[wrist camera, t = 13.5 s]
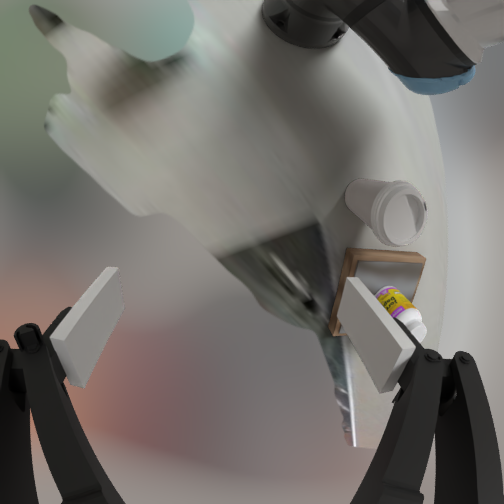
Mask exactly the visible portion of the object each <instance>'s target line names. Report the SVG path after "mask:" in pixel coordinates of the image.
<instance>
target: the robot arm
mask: <svg viewBox="0 0 504 504" xmlns="http://www.w3.org/2000/svg"><path fill="white" fill-rule="evenodd" d="M262 13H263V17H264V20H265V22H266V24H267V25H268V27H269V28H270V29H271V30H272V31H273V32H274V33H275V34H276V35H277V36H279V37H280V38H282V39H283V40H285V41H287V42H289V43H291V44H294V45H297V46H300V47H305V48H323V47H327V46H330V45H332V44H334V43H336V42H337V41H338V40H339V39H341V38H342V37H343V36H344V35H345V33H346V32H347V30H348V28H349V27H350V28H351V29H352V30H353V31H354V32H355V33H356V34H357V35H358V36H359V37H360V38H361V39H363V40H364V41H365V42H366V43H367V44H368V45H369V46H370V47H371V49H372V50H373V51H374V52H375V53H376V54H377V55H378V56H379V57H380V58H381V59H382V60H383V61H384V62H385V64H386V65H387V66H388V69H389V70H390V71H391V73H393V74H394V75H395V76H397V77H398V78H399V79H400V81H401V82H402V83H403V84H404V85H405V86H406V87H407V88H408V89H409V90H411V91H413V92H415V93H417V94H421V95H436V94H442V93H446V92H450V91H453V90H455V89H458V88H459V85H465V84H466V83H468V82H469V81H471V79H472V78H473V77H474V75H475V65H476V64H479V63H481V61H482V56H483V50H484V49H485V48H486V47H490V46H493V45H496V44H499V43H503V42H504V0H264V3H263V7H262ZM124 309H125V306H124V301H123V294H122V287H121V281H120V273H119V268H117V267H107V268H106V269H105V270H104V271H103V272H102V273H101V274H100V275H99V277H98V278H97V279H96V280H95V281H94V282H93V284H92V285H91V286H90V287H89V288H88V289H87V291H86V292H85V293H84V294H83V295H82V296H81V298H80V299H79V300H78V301H77V303H76V304H75V305H74V306H73V307H68V308H66V309H64V310H63V311H61V312H60V314H59V315H58V316H57V317H56V319H55V320H54V321H53V322H52V324H51V325H50V326H49V327H48V329H47V330H46V331H45V333H44V334H43V335H42V334H41V331H40V328H39V326H38V325H36V324H34V323H27V324H24V325H22V326H20V327H19V328H18V329H17V330H16V331H15V333H14V338H15V340H16V342H17V344H18V347H19V349H11V348H10V346H9V344H8V342H7V341H5V340H0V504H39V502H38V497H37V492H36V486H35V480H34V473H33V464H32V454H31V440H30V408H31V413H32V416H33V420H34V424H35V428H36V431H37V434H38V438H39V441H40V444H41V447H42V450H43V453H44V456H45V458H46V461H47V464H48V466H49V469H50V471H51V474H52V476H53V478H54V481H55V483H56V485H57V487H58V490H59V492H60V494H61V496H62V499H63V501H62V503H61V504H125V502H124V501H123V499H122V498H121V497H120V495H119V494H118V492H117V491H116V489H115V488H114V486H113V484H112V483H111V481H110V480H109V478H108V476H107V475H106V473H105V471H104V469H103V468H102V466H101V464H100V463H99V461H98V459H97V457H96V455H95V453H94V451H93V450H92V447H91V446H90V444H89V442H88V439H87V437H86V436H85V433H84V431H83V429H82V427H81V425H80V422H79V420H78V418H77V415H76V413H75V411H74V408H73V406H72V403H71V400H70V398H69V395H68V392H67V390H66V387H65V385H64V383H63V381H64V379H65V377H66V376H67V379H68V381H69V382H70V384H71V385H74V386H78V387H81V388H85V386H86V384H87V382H88V379H89V377H90V375H91V373H92V371H93V369H94V367H95V365H96V363H97V361H98V358H99V357H100V355H101V353H102V351H103V349H104V347H105V345H106V343H107V341H108V339H109V337H110V335H111V333H112V331H113V330H114V328H115V326H116V324H117V322H118V320H119V318H120V317H121V315H122V313H123V311H124ZM337 317H338V319H339V321H340V323H341V324H342V326H343V328H344V330H345V331H346V333H347V335H348V337H349V338H350V340H351V342H352V344H353V346H354V347H355V349H356V351H357V353H358V355H359V356H360V358H361V360H362V362H363V364H364V366H365V367H366V369H367V371H368V373H369V375H370V377H371V378H372V380H373V382H374V384H375V386H376V388H377V390H378V392H379V394H380V393H385V392H389V391H393V389H394V387H395V386H396V384H397V382H398V383H399V385H400V386H401V388H400V390H399V391H398V393H397V395H396V396H395V398H394V399H393V401H392V403H394V402H395V403H394V406H393V409H392V412H391V415H390V418H389V421H388V423H387V426H386V429H385V431H384V434H383V436H382V439H381V441H380V444H379V446H378V448H377V451H376V453H375V456H374V458H373V460H372V462H371V464H370V466H369V469H368V471H367V473H366V475H365V477H364V479H363V481H362V483H361V485H360V487H359V488H358V491H357V492H356V494H355V496H354V497H353V499H352V501H351V503H350V504H423V500H424V495H423V494H422V493H420V491H419V490H420V486H421V483H422V480H423V477H424V473H425V470H426V467H427V463H428V459H429V455H430V451H431V447H432V442H433V438H434V433H435V449H436V479H435V480H436V481H435V498H434V504H504V495H503V481H502V470H501V462H500V455H499V449H498V443H497V437H496V432H495V428H494V423H493V419H492V415H491V411H490V407H489V403H488V400H487V396H486V393H485V390H484V386H483V383H482V380H481V377H480V374H479V371H478V368H477V365H476V363H475V360H474V359H473V357H472V356H471V355H470V354H469V353H466V352H463V351H458V352H456V353H455V355H454V357H453V359H443V358H442V356H441V355H440V354H439V353H438V352H436V351H434V350H431V349H424V348H423V347H422V345H421V344H420V343H419V342H418V340H417V339H416V338H415V337H414V335H413V334H411V332H410V331H409V330H408V328H407V327H406V326H405V325H404V323H403V322H401V321H400V320H398V319H397V318H395V317H393V318H392V317H391V315H390V314H389V313H388V312H387V311H386V309H385V308H384V307H383V306H382V305H381V303H380V302H379V301H378V300H377V299H376V298H375V296H374V295H373V294H372V293H371V292H370V291H369V289H368V288H367V287H366V286H365V285H364V284H363V283H362V281H361V280H360V279H359V278H358V277H347V278H346V282H345V286H344V290H343V294H342V298H341V302H340V306H339V310H338V313H337ZM456 393H457V394H456Z"/></svg>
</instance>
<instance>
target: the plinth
mask: <svg viewBox="0 0 504 504" xmlns="http://www.w3.org/2000/svg"><path fill="white" fill-rule="evenodd" d="M425 261H426V258H425V257H423V256H422V255H420V254H419V253H417V252H404V251H389V250H373V249H357V248H347V249H346V254H345V259H344V263H343V268H342V272H341V277H340V281H339V285H338V290H337V294H336V298H335V302H334V306H333V310H332V313H331V317H330V321H329V325H328V327H329V329H330V331H331V333H332V335H333V336H343V335H347V333H346V331H345V330H344V328H343V326H342V324H341V323H340V321H339V319H338V317H337V313H338V310H339V306H340V302H341V298H342V294H343V290H344V286H345V282H346V278H347V277H358V278H359V279H360V280H361V281H362V283H363V284H364V285H365V286H366V287H367V288H368V289H369V291H370V292H371V293H372V294H373V295H375V294H376V293H377V292H378V291H379V290H380V289H381V288H383V287H386V286H393V287H395V288H397V289H398V290H399V291H400V292H401V293H402V294H403V295H404V296H405V297H406V298H407V299H408V300H409V301H410V302H411V303H412V301H413V299H414V296H415V293H416V290H417V287H418V284H419V281H420V278H421V275H422V271H423V268H424V265H425Z"/></svg>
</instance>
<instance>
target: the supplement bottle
mask: <svg viewBox="0 0 504 504" xmlns="http://www.w3.org/2000/svg"><path fill="white" fill-rule="evenodd" d="M374 296H375V298H376V299H377V300H378V301H379V302H380V303H381V305H382V306H383V307H384V308H385V309H386V311H387V312H388V313H389V314H390V315H391V317H392V318H393V317H395V318H397V319H398V320H400V321H401V322H403V323H404V325H405V326H406V327H407V328H408V330H409V331H410V332H411V334H413V335H414V337H415V338H416V339H417V340H418V342H419V343H420V342H421V341H422V340H423V339H424V337H425V335H426V332H427V329H426V327H425V325H424V324H423V323H421V322H422V317H421V314H420V312H419V311H418V310H417V309H416V308H415V307H414V306H413V305H412V303H411V302H410V301H409V300H408V299H407V298H406V297H405V296H404V295H403V294H402V293H401V292H400V291H399V290H398V289H397V288H395V287H393V286H386V287H383V288H381V289H380V290H379V291H378V292H377V293H376V294H375V295H374Z"/></svg>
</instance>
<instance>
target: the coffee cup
mask: <svg viewBox="0 0 504 504" xmlns="http://www.w3.org/2000/svg"><path fill="white" fill-rule="evenodd" d="M345 202H346V205H347V207H348V208H349V209H350V210H351V211H352V212H353V213H354V214H355V215H357V216H358V217H359V218H360V219H361V220H362V221H363V222H365V223H366V224H367V225H368V226H369V227H370V228H371V229H372V230H373V232H374V234H375V236H376V237H377V238H378V239H379V240H380V241H381V242H382V243H384V244H386V245H388V246H394V247H398V246H405V245H409V244H411V243H413V242H414V241H416V240H417V239H418V238H419V237H420V235H421V234H422V232H423V231H424V229H425V226H426V223H427V218H428V209H427V204H426V201H425V199H424V198H423V196H422V194H421V193H420V191H419V190H418V189H417V188H416V187H415V186H414V185H413V184H411V183H409V182H407V181H402V180H398V181H393V182H385V181H377V180H369V179H356V180H354V181H353V182H351V183H350V184H349V185H348V187H347V189H346V192H345Z"/></svg>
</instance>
